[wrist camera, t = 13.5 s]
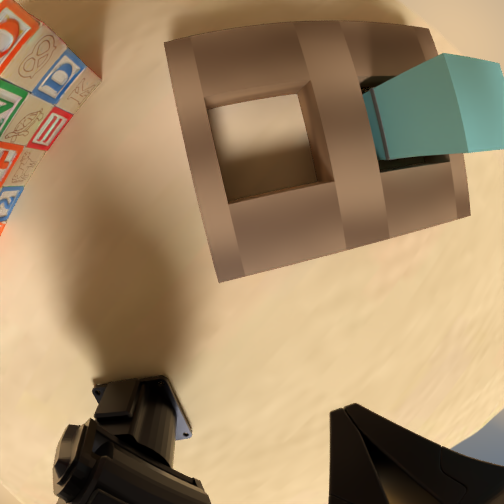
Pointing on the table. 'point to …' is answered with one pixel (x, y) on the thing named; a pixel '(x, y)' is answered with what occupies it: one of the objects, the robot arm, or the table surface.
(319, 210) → the walnut board
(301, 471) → the table surface
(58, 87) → the stack of blocks
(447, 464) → the robot arm
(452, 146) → the teal peg
